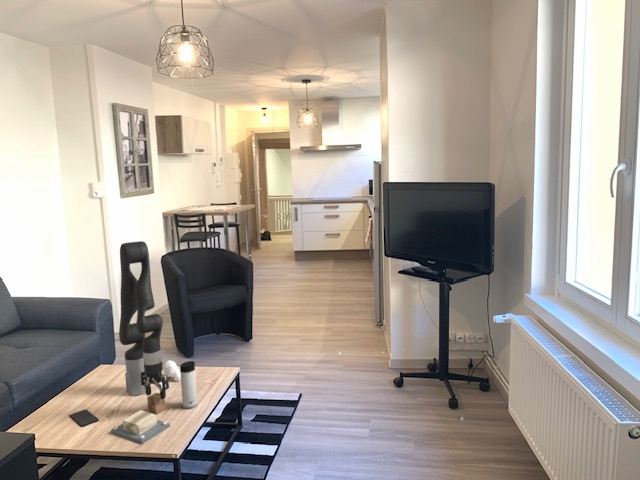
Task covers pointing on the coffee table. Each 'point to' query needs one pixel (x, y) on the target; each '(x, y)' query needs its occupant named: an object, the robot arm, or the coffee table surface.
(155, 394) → the walnut block
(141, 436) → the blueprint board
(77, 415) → the smartphone
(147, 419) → the birch plinth
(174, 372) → the white lumpy piece
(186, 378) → the travel mug
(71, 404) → the coffee table surface
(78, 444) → the coffee table surface
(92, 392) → the coffee table surface
